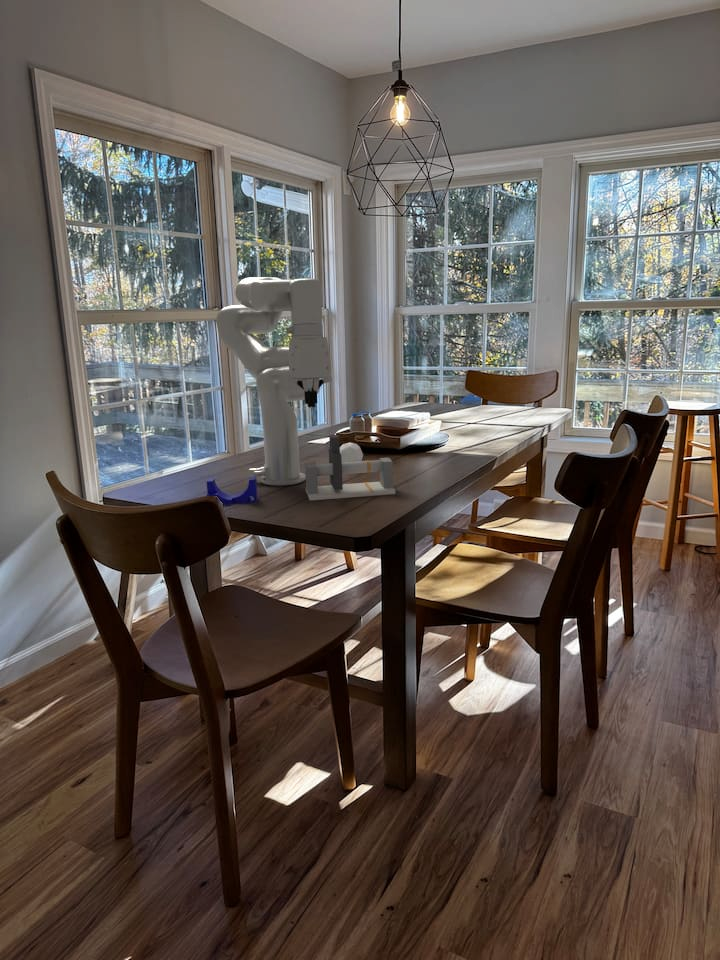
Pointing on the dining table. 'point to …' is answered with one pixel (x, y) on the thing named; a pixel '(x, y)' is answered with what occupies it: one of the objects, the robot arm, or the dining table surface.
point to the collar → (335, 462)
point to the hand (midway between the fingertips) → (311, 406)
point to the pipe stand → (350, 489)
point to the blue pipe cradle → (229, 499)
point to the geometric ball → (351, 453)
